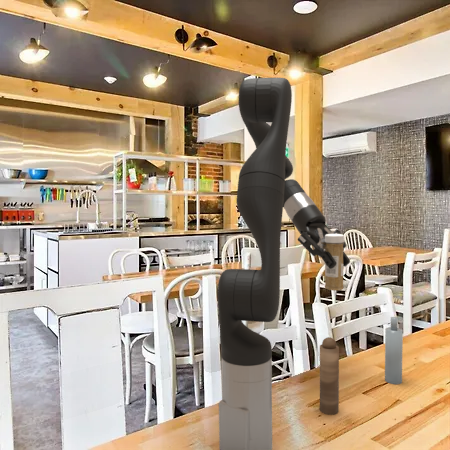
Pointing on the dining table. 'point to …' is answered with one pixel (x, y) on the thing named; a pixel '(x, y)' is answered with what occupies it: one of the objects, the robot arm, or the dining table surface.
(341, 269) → the sprinkles bottle
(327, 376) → the pepper mill
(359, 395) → the dining table surface
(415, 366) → the dining table surface
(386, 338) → the ceramic cruet
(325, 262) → the robot arm
